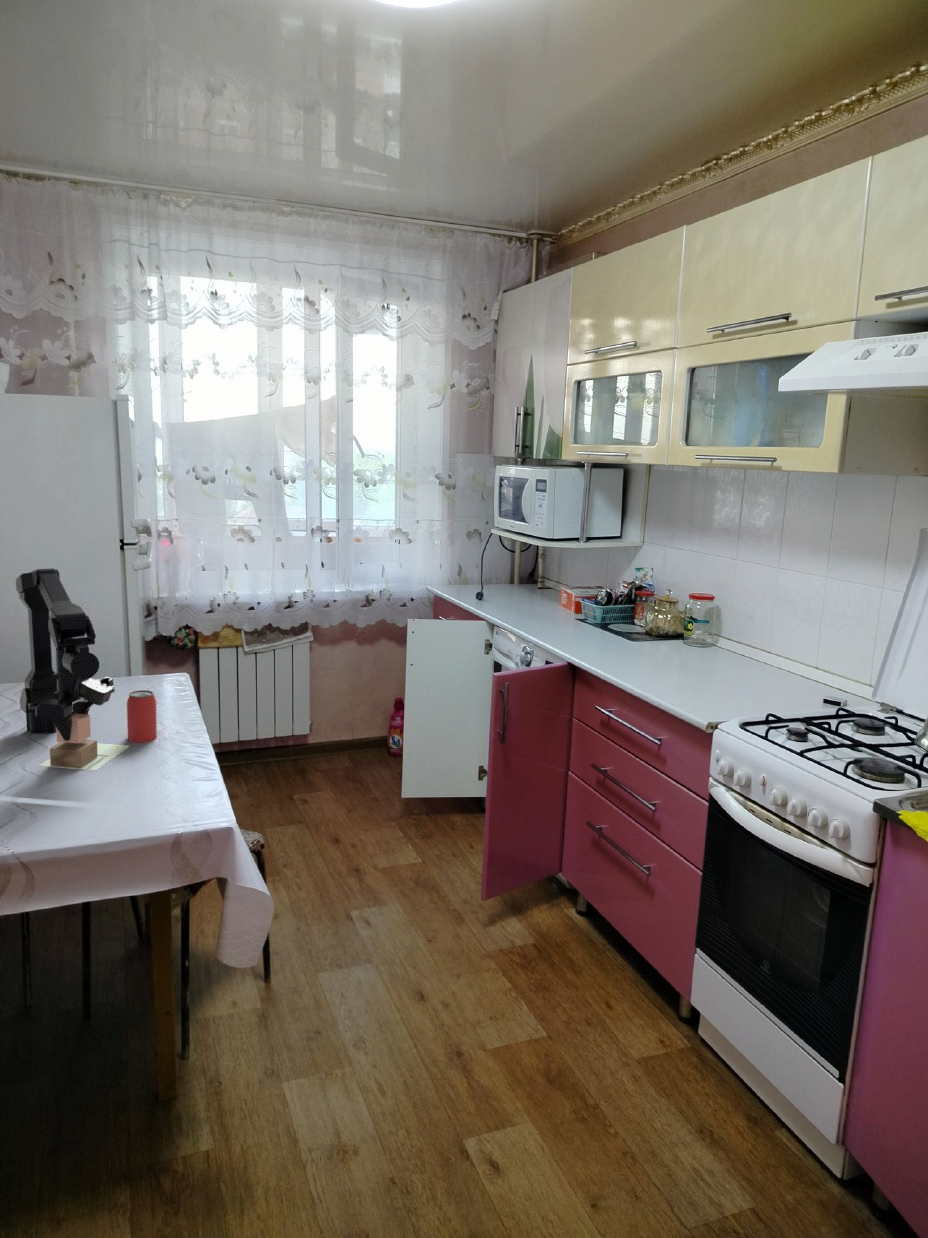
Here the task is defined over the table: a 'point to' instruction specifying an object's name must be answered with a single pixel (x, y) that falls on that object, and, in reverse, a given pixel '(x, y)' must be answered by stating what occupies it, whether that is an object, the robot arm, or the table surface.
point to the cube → (77, 729)
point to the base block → (73, 754)
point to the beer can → (141, 716)
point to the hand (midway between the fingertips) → (73, 736)
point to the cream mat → (103, 753)
